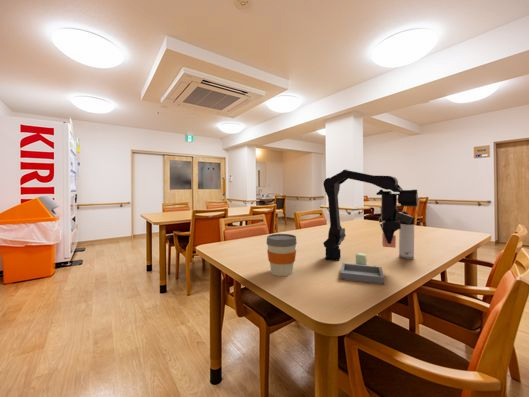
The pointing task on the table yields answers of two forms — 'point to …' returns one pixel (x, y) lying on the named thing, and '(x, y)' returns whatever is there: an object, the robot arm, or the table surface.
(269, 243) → the reusable coffee cup
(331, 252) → the robot arm
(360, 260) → the green cylinder
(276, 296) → the table surface
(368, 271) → the serving tray
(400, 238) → the travel mug
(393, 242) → the red cube
